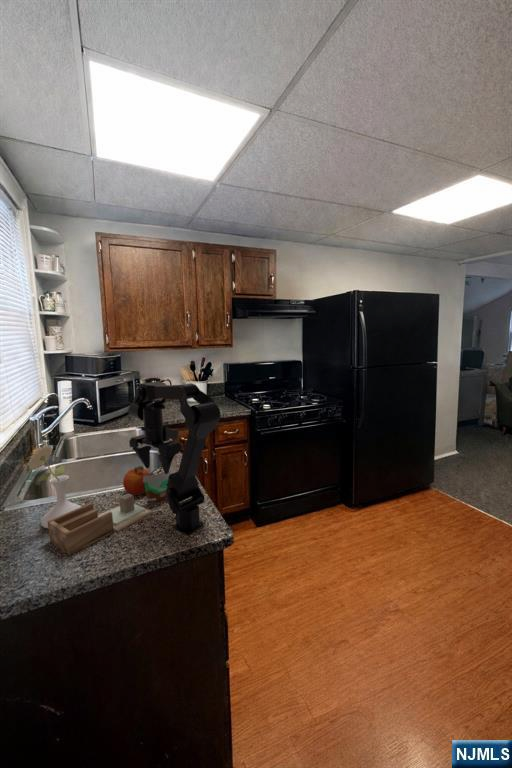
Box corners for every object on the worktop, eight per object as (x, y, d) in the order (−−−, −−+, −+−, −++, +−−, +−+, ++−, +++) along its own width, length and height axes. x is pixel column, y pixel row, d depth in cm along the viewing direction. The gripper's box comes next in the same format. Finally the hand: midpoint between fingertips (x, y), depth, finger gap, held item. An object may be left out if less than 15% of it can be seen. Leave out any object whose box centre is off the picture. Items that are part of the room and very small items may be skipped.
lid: (145, 510, 100) (144, 494, 100) (116, 526, 92) (114, 509, 91) (129, 504, 105) (128, 488, 104) (100, 518, 97) (99, 501, 96)
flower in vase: (72, 508, 104) (64, 434, 101) (93, 517, 98) (85, 439, 95) (27, 529, 93) (17, 446, 90) (48, 540, 87) (37, 452, 84)
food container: (161, 506, 103) (159, 477, 102) (144, 505, 105) (142, 476, 104) (179, 489, 115) (177, 463, 114) (164, 488, 117) (162, 462, 115)
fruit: (140, 484, 121) (138, 459, 120) (157, 489, 116) (155, 463, 115) (118, 495, 113) (115, 468, 111) (135, 501, 108) (133, 473, 107)
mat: (152, 512, 100) (152, 511, 100) (117, 531, 90) (117, 530, 90) (127, 502, 107) (127, 501, 107) (93, 518, 97) (92, 517, 97)
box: (113, 531, 90) (112, 512, 89) (69, 555, 80) (67, 534, 80) (93, 520, 96) (91, 502, 96) (49, 541, 86) (47, 521, 86)
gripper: (193, 420, 99) (196, 467, 101) (155, 414, 110) (158, 457, 112) (165, 428, 90) (169, 480, 92) (126, 421, 101) (130, 468, 103)
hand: (157, 470), depth 100 cm, fingers open, 9 cm apart
